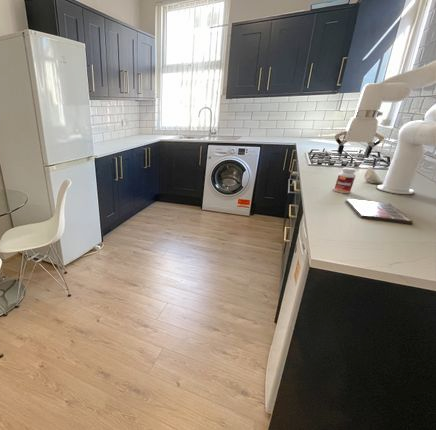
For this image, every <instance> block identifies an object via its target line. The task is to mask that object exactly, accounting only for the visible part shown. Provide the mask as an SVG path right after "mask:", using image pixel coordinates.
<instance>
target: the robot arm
mask: <svg viewBox="0 0 436 430" xmlns="http://www.w3.org/2000/svg"><path fill="white" fill-rule="evenodd" d="M434 84H436V59H434V60H433V61H431V62H428V63H427V64H424V65H423V66H420V67H416V68H413V69H411V70H407V71H405V72H402V73H399V74H396V75H393V76H390V77H388V78H386V79H384V80H382V81H380V82H370V83H366V84H365V85H364V86H363V88H362V90H361V93H360V96H359V100H358V103H357V106H356V110H355V113H354V116H353V117H351V118H350V119H349V121H348V123H347V126H346V128H345V130H344V131H342V132H339V133H335V134H334V139H335V142H336V143H337V144H338V147H337V150H336V152H337V154H338V155H342V154H343V152H344V148H345V146H344V145H346V143H348V142H350V143H366V144H367V145H368V146H367V147H366V148H365V151H364V154H363V156H365V157H367V158H368V157H369V156H370V155H371V154H372V152H373V149H374V148H375V147H376V146H378V145H379V144H380V143H381V142H382V141H384V139H385V136H383V135H381V134H379V133H377V130H378V125H379V118H378V117H381V116H383V112H382V111H380V109H381V106H382V104H383V103H399V102H402V101H404V100H406V99H407V98H408V97H409V96H410V94H411V93H412V90H416V89H422V88H427V87H431V86H433V85H434ZM340 137H342V140H341V139H340ZM375 138H377V140H375ZM374 140H375V141H374ZM424 146H428V147H429V146H430V147H436V104H434V105H433V106H432V107H430V108H429V109H428V110H427V111H426V113H425V114H424V120H412V121H409V122H407V123H405V124H404V125H402V127H401V128H400V129H399V131H398V134H397V142H396V148H395V151H394V153H393V156H392V159H391V160H390V164H389V166H388V169H387V172H386V174H385V177H384V181H383V182H382V183H383V184H377V187H376V188H377V190H379V191H382V192H386V193H391V194H395V195H396V194H397V195H413V194H414V193H415V190H414V189H412V188H411V187H412V185H413V183H414V181H415V178H416V176H417V174H418V170H419V168H420V166H421V163H422V161H423V158H424V156H425V147H424Z"/></svg>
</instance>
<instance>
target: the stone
mask: <svg viewBox="0 0 436 430" xmlns="http://www.w3.org/2000/svg"><path fill="white" fill-rule="evenodd" d="M363 178H364V180H365V182H367V183H369V184H377V185H383V183H384V182H382V180H381V178H380V177H379V176H378V174H377V173H376V171H375V170H374V169H373V167H372V166H368V168H367V169H366V171H365V173H364V175H363Z"/></svg>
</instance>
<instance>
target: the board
mask: <svg viewBox="0 0 436 430" xmlns="http://www.w3.org/2000/svg"><path fill="white" fill-rule="evenodd" d="M346 203H347V204H348V206H350V208H351V209H352V210H353V211H354V212H355V213H356V214H357V215H358V217H359V218H360V219H365V220H373V221H382V222H389V223H396V224H397V223H398V224H404V225H405V224H406V225H413V222H414V221H413V220H412V219H410V218H409V217H408V216H406V215H405V214H404V213H403V212H401V211H400V210H399V209H397V208H396V207H395V206H394V205H392V204H391V203H386V202H379V201H368V200H361V199H360V200H359V199H353V198H352V199H351V198H346Z"/></svg>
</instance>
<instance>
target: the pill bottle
mask: <svg viewBox="0 0 436 430" xmlns="http://www.w3.org/2000/svg"><path fill="white" fill-rule="evenodd" d="M356 170H357V169H356V168H353V167H343V168H342V169H341V172H339V173H338V176H337V179H336V181H335V185H334V188H333V190H334V191H335V192H337V193H342V194H349V193H351V191H352V187H353V184H354V182H355V179H356V174H355V172H356Z"/></svg>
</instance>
